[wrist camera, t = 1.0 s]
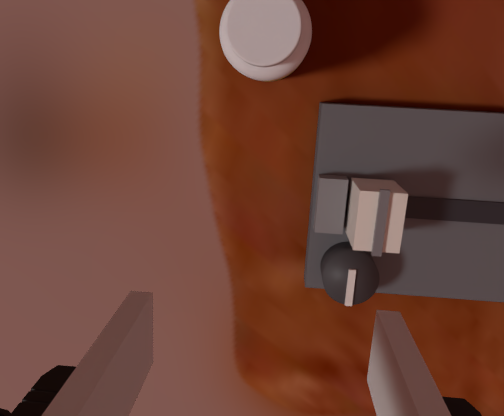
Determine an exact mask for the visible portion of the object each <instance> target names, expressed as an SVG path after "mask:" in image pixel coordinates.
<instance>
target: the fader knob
mask: <svg viewBox="0 0 504 416" xmlns="http://www.w3.org/2000/svg"><path fill="white" fill-rule="evenodd" d="M407 200H408V193H407V192H406V191H405V190H404V189H403V188H401V187H400V186H399V185H398V184H397V183H396V182H395V181H394V180H381V179H365V178H351V183H350V192H349V201H348V210H347V218H346V227H345V232H346V234H347V237H348V239H349V242H350V244H351V246H352V249H353V250H358V251H372V252H371V255H372V256H379V257H381V256H382V252H386V253H400V246H401V240H402V233H403V226H404V220H405V213H406V206H407Z"/></svg>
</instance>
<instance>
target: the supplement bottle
mask: <svg viewBox="0 0 504 416" xmlns="http://www.w3.org/2000/svg"><path fill="white" fill-rule="evenodd" d="M311 38H312V24H311V18H310V15H309V12H308V10H307V7H306V6H305V4H304V2H303V1H302V0H230V1H229V2H228V4H227V6H226V8H225V10H224V12H223V15H222V18H221V22H220V42H221V46H222V49H223V52H224V54H225V56H226V58H227V59H228V61H229V62H230V64H231V65H232V66H233V67H234V68H235V69H236V70H237V71H239V72H240V73H241V74H243V75H245V76H247V77H249V78H251V79H255V80H259V81H266V82H269V81H277V80H280V79H283V78H285V77H287V76H288V75H290V74H291V73H292V72H293V71H295V70H296V68H297V67H298V66H299V65H300V64H301V62H302V61H303V59H304V58H305V56H306V54H307V52H308V49H309V47H310V43H311Z"/></svg>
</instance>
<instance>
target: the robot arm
mask: <svg viewBox="0 0 504 416" xmlns="http://www.w3.org/2000/svg"><path fill="white" fill-rule="evenodd" d="M152 364H153V293H150V292H136V291H131V292H130V293H129V294H128V296H127V297H126V299H125V300H124V301H123V303H122V304H121V306H120V307H119V308H118V310H117V311H116V312H115V314H114V315H113V317H112V318H111V320H110V321H109V322H108V324H107V325H106V326H105V328H104V329H103V331H102V332H101V333H100V335H99V336H98V338H97V339H96V341H95V342H94V343H93V345H92V346H91V347H90V349H89V350H88V352H87V353H86V354H85V356H84V357H83V359H82V360H81V361H80V363H79V364H78V366H77V367H73V366H61V365H58V366H56V367H55V368H53V369H51V370H50V371H49V372H47V373H45V374H44V375H42V376H41V377H40V379H39V380H38V381H37V382H36V384H35V385H34V386H33V387H32V388H31V391H30V392H28V393H27V395H26V396H25V397H24V398H23V400H22V403H19V404H18V406H17V407H16V408H15V409H14V411H13V412H12V413H10V412H9V411H8V410H4V409H1V408H0V416H129V413H130V412H131V409H132V407H133V405H134V402H135V401H136V398H137V396H138V394H139V392H140V390H141V387H142V385H143V383H144V381H145V379H146V376H147V374H148V372H149V370H150V368H151V366H152ZM367 382H368V386H369V389H370V393H371V396H372V400H373V404H374V407H375V411H376V415H377V416H482V415H481V414H480V412H479V411H477V410H476V409H475V408H474V407H473V406H472V405H471V404H470V403H469V402H467V401H466V400H465V399H462V398H450V397H442V396H441V394H440V392H439V390H438V388H437V386H436V384H435V382H434V380H433V378H432V376H431V374H430V372H429V370H428V368H427V366H426V364H425V362H424V360H423V358H422V356H421V354H420V352H419V350H418V348H417V346H416V344H415V342H414V340H413V338H412V336H411V334H410V332H409V330H408V328H407V326H406V324H405V322H404V320H403V318H402V316H401V313H400V312H396V311H384V310H377V311H376V318H375V326H374V333H373V340H372V347H371V354H370V362H369V369H368V376H367Z"/></svg>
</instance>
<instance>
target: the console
mask: <svg viewBox="0 0 504 416" xmlns="http://www.w3.org/2000/svg"><path fill="white" fill-rule="evenodd" d="M351 178H365V179H381V180H394V181H395V182H396V183H397V184H398V185H399V186H400V187H401V188H403V189H404V190H405V191H406V192H407V193H408V200H407V206H406V213H405V220H404V226H403V233H402V240H401V246H400V253H386V252H382V256H381V257H379V256H372V255H371V252H372V251H358V250H353V249H352V246H351V244H350V242H349V239H348V237H347V234H346V232H345V227H346V218H347V210H348V201H349V192H350V183H351ZM304 281H305V287H310V288H323V289H325V290H326V292H327V294H328V295H329V296H330V297H331V298H332V299H334V300H335V301H337V302H339V303H342V304H345V306H352V305H354V304H359V303H362V302H364V301H366V300H368V299H369V298H370V297H371V296H372V295H373V294H374V293H375V292H376V293H389V294H402V295H415V296H428V297H442V298H455V299H468V300H481V301H494V302H504V112H486V111H468V110H451V109H433V108H415V107H397V106H380V105H362V104H344V103H326V102H320V105H319V116H318V127H317V138H316V149H315V160H314V172H313V183H312V194H311V205H310V216H309V227H308V238H307V249H306V260H305V271H304Z"/></svg>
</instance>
